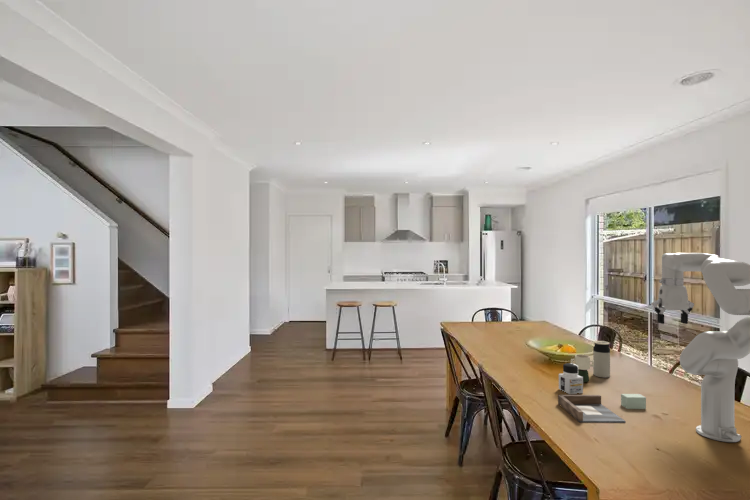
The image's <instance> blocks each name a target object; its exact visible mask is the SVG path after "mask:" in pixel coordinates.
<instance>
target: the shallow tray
mask: <svg viewBox="0 0 750 500" xmlns="http://www.w3.org/2000/svg"><path fill="white" fill-rule="evenodd" d="M557 404H558V405H559V406H560V405H561V406H562V407H563V408H564V409H565V410H564V409H563V408H562V407H561V406H560V407H561V408H562V409H563V410H564V411H566V412H567V413H568V414H569V415H570V414H571V415H572V416H571V415H570V416H571V417H573V419H575V420H576V421H577V422H578V423H620V424H621V423H626V420H624V419H623V418H622V417H620V416H619V415H617V413H616V412H615V413H614V411H612V410H611V409H609V408H608V407H606V406H605V405H604V404H602V395H600V394H558V395H557Z"/></svg>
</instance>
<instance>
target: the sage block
mask: <svg viewBox="0 0 750 500" xmlns="http://www.w3.org/2000/svg"><path fill="white" fill-rule="evenodd" d="M620 405H621V406H622V407H623V408H625V409H626V410H627V409H628V410H647V397H646V396H644V395H642V394H640V393H621V394H620Z"/></svg>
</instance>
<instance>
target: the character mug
mask: <svg viewBox="0 0 750 500" xmlns="http://www.w3.org/2000/svg"><path fill="white" fill-rule="evenodd" d="M570 363H572V364H576V365H577V366H578V375H579V376H582V377H583V383H587V382H589V381H590V378H589V377H590V376H589V371H588V370H591V369H590V368H591V367H592V368H593V366H594V360H593V359H591V356H589V355H587V354H575V355H574V358H570Z"/></svg>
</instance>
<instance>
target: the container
mask: <svg viewBox="0 0 750 500" xmlns="http://www.w3.org/2000/svg"><path fill="white" fill-rule="evenodd" d="M562 368H563V371H562V372H563V373H558V390H559V389H560V390H559V391H561V390H562V391H561V392H563V391H564V393H565V392H566V394H567V395H578V394H577V393H579V394H584V382H583V377H582V376H579V375H578V366H577V365H576V364H572V363H571V362H569V363H567V362H566V363H564V364H563V366H562Z"/></svg>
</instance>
